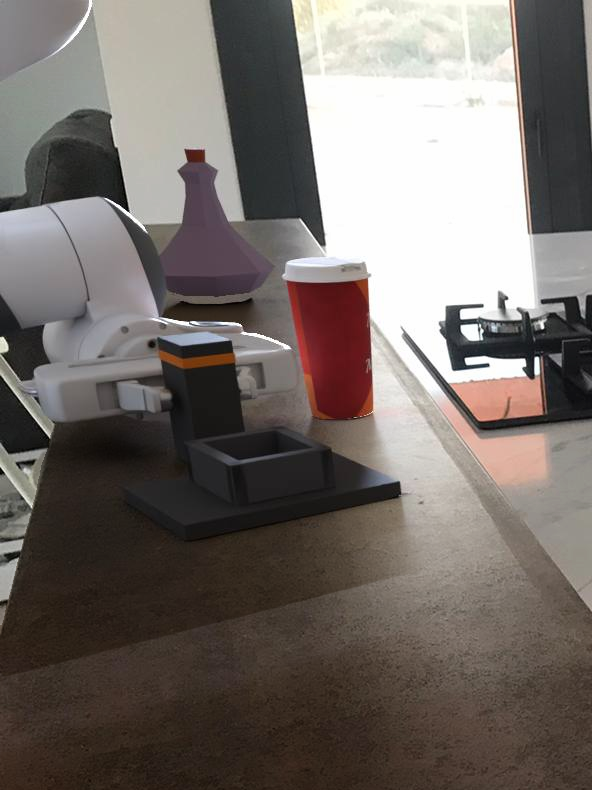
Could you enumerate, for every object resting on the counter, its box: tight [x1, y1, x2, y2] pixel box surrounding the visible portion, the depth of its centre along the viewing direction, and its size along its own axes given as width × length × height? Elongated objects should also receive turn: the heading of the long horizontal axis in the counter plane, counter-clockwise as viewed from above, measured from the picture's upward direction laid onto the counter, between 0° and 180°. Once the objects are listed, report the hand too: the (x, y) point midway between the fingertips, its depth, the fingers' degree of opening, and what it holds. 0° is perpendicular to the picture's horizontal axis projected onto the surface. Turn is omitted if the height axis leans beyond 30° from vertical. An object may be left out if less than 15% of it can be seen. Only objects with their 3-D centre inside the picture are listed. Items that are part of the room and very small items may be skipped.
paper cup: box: [281, 256, 374, 420], centre depth 119 cm, size 8×8×14 cm
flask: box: [158, 147, 276, 297], centre depth 176 cm, size 16×16×20 cm
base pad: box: [121, 425, 402, 542], centre depth 96 cm, size 16×12×4 cm
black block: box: [157, 332, 246, 464], centre depth 104 cm, size 4×5×10 cm
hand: (206, 396), depth 103 cm, fingers open, 5 cm apart
